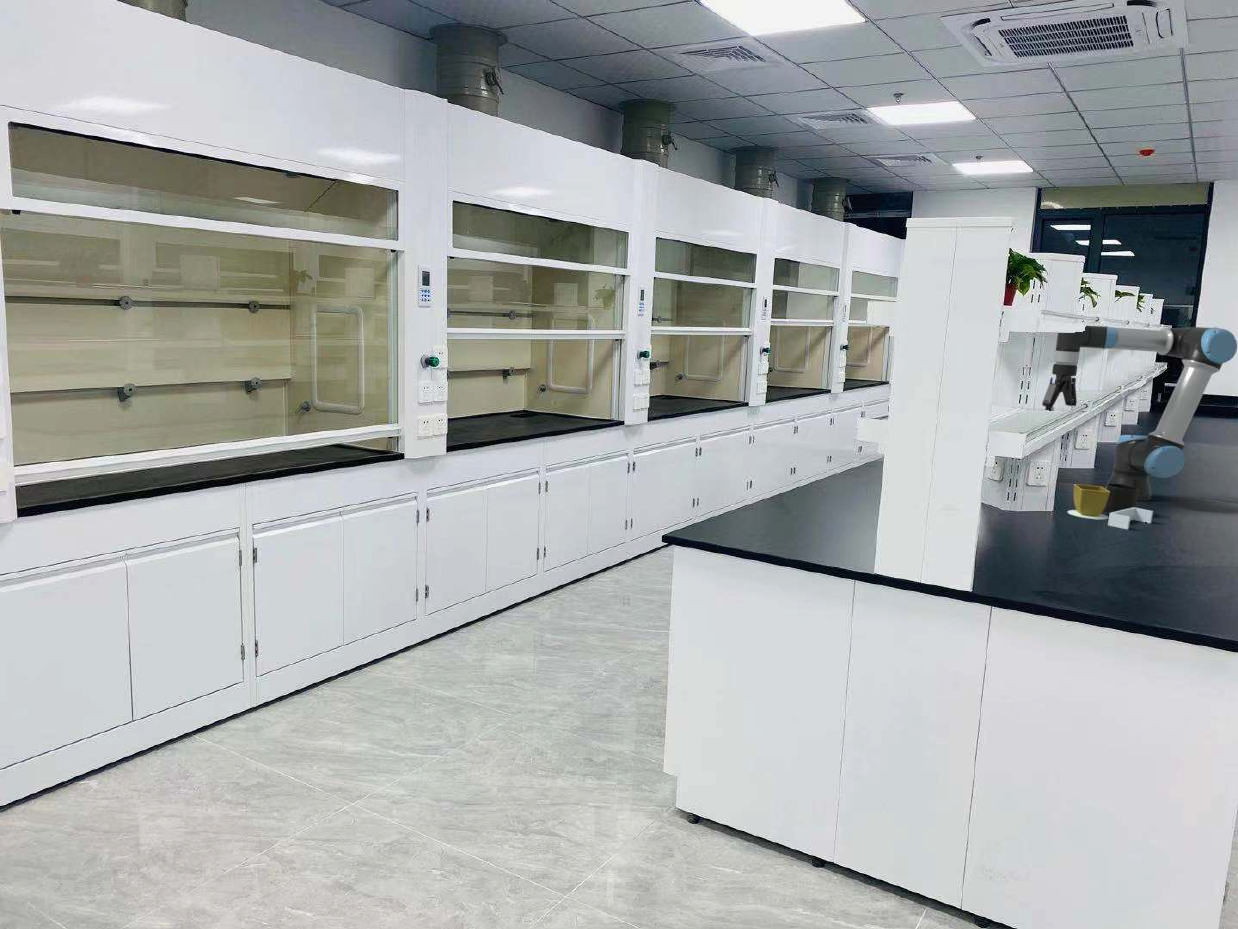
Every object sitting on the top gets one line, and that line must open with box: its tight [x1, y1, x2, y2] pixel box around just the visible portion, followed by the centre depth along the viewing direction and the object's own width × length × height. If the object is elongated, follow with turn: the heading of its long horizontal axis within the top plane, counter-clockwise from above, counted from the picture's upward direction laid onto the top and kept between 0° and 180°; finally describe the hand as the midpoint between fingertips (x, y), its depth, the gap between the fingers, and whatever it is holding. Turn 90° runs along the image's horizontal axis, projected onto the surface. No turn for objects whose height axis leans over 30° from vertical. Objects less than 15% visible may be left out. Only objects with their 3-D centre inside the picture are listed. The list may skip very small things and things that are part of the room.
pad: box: [1067, 509, 1109, 521], centre depth 293 cm, size 12×12×1 cm
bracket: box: [1107, 507, 1154, 530], centre depth 283 cm, size 18×6×4 cm, turn 129°
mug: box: [1102, 484, 1139, 514], centre depth 300 cm, size 9×12×9 cm
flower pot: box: [1073, 483, 1110, 516], centre depth 292 cm, size 9×9×9 cm
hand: (1056, 424), depth 311 cm, fingers open, 13 cm apart
